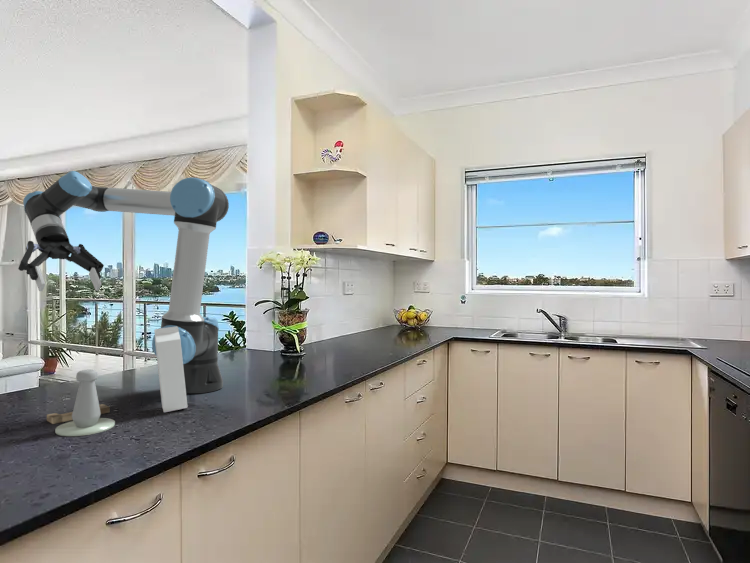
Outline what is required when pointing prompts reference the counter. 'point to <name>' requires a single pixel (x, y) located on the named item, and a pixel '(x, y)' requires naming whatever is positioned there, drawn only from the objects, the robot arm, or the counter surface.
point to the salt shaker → (86, 400)
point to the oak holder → (68, 416)
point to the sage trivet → (72, 430)
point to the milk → (170, 369)
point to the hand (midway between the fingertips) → (71, 287)
